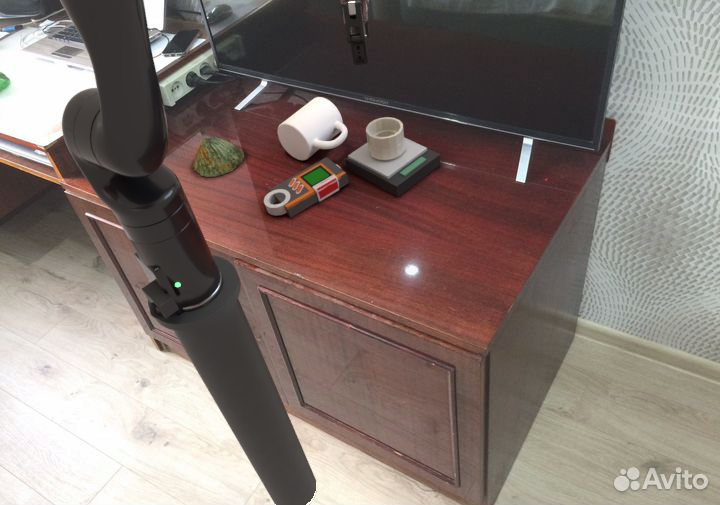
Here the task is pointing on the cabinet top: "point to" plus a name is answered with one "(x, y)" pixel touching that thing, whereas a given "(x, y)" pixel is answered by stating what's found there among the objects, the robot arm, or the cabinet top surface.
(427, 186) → the cabinet top surface
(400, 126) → the beige cylindrical cup
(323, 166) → the electronic device
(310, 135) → the mug
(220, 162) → the seashell
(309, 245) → the cabinet top surface
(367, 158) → the scale
